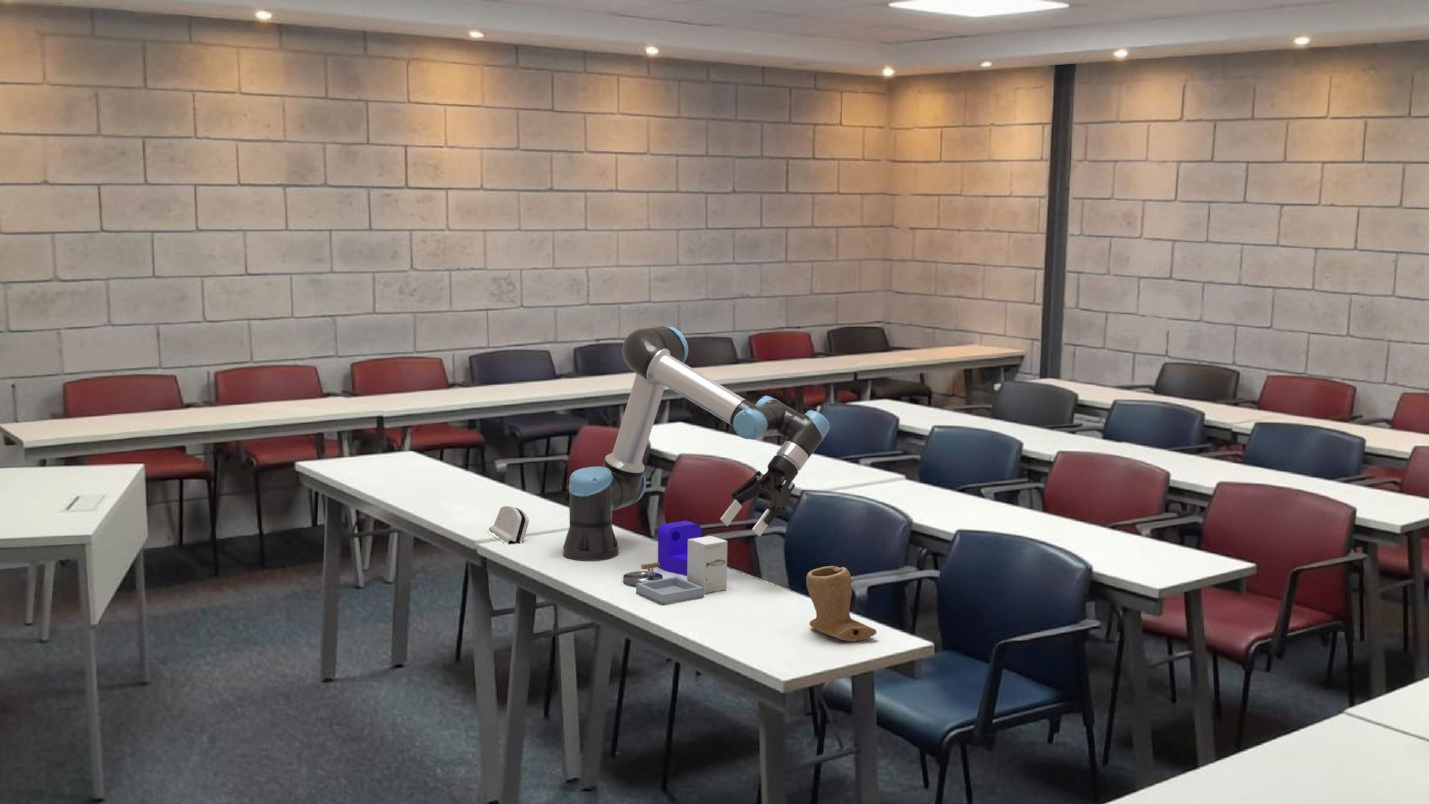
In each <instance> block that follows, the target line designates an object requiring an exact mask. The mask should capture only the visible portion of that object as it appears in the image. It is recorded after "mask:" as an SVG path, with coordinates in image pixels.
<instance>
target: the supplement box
mask: <svg viewBox="0 0 1429 804" xmlns="http://www.w3.org/2000/svg"><path fill="white" fill-rule="evenodd" d="M727 578H728V540H726V539H722V538H719V537H716V536H712V535H709V536H708V535H707V536H702V537H700V538H693V539H688V559H687V576H686V580H687V581H689V582H692V583H694V584H696V585H699V586H701V587H704V595H705V594H708V593H713V591H714V592H720V591H726V590H727V586H728V585H727V583H728V582H727Z"/></svg>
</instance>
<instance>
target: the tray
mask: <svg viewBox="0 0 1429 804" xmlns="http://www.w3.org/2000/svg"><path fill="white" fill-rule="evenodd" d="M635 594H637V595H638V594H639V595H638V596H640V597H643V598H645V597H646V598H645V599H648V600H650V601H652V602H654V603H657V604H659V605H661V606H666V605H671V604H676V603H677V604H678V603H682V602H688V601H693V600H698V599H703V598H702V597H704V598H705V594H704V587H701V586H699V585H696V584H694V583H692V582H689V581H687V579H684V578H681V577H679V576H673V577H667V578H666V577H665V578H663V579H660V580H654V581H648V582H642V583H637V584H636V587H635ZM687 600H688V601H687Z"/></svg>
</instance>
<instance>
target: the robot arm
mask: <svg viewBox="0 0 1429 804" xmlns="http://www.w3.org/2000/svg"><path fill="white" fill-rule="evenodd" d="M685 337H686V336H685V335H684V334H683V333H682V331H681V330H678V329H677V328H675V327H673V326H666V325H660V326H659V325H658V326H656V327H655V326H654V327H648V328H646V327H645V328H638V329H636V330H634V331H632V332H631V333H629V334H628V335H627V336H626V338H625V339H624V342H623V345H622V349H621V350H622V351H621V352H622V353H621V354H622V357H623V360H624V363H625V364H626V366H627V367H628V368H629V369H630V370H631V371H633V373H634V374H635V377H634V380H633V384H632V387H631V390H630V394H629V397H628V401H627V403H626V407H625V411H624V414H623V417H622V420H621V424H620V428H619V430H618V434H617V437H616V441H615V443H614V448H613V450H612V452H610V453H609V454H607V455H605V457H604V461H603V464H602V466H588V467H582V468H580V469H579V468H578V469H576V470H574V471H573V472H572V473H571V474H570V476H569V485H568V491H569V492H568V493H569V495H568V496H569V497H568V498H569V499H568V500H569V502H568V504H569V505H568V506H569V509H568V511H569V527H568V530H567V533H566V537H565V541H564V544H563V547H562V552H563V553H562V555H563V556H564V557H565V558H567V559H572V560H578V561H603V560H608V559H612V558H614V557H615V558H616V557H617V556H618V555H619V544H618V543H619V542H618V541H617V538H616V535H615V532H614V528H613V511H616V510H619V509H622V508H627V507H630V506H632V505H634V504H635V503H637V502H638V501H639V500H640V499H642V497H643V496H644V494H645V492H646V488H647V479H646V477H645V471H646V470H645V469H646V467H645V465H644V463H643V459H644V455H645V451H646V448H647V446H648V442H649V440H650V436H651V432H652V429H653V428H654V427H653V426H654V423H655V420H656V417H657V413H658V411H659V406H660V404H661V400H662V397H663V394H664V391H665V387H666V388H669V390H671V391H673V392H675V393H677V394H678V395H680V396H681V397H683V398H685V399H687V400H688V401H689V402H692V403H693V404H695V405H696V406H699V407H700V408H702V409H704V410H705V411H707V412H709V413H711V414H712V415H713V416H715V417H717V418H718V419H720V420H722V421H723V422H726V423H727V424H729V425H731V426H732V427H733V429H734V431H735V433H736V435H738V436H739V437H740V438H742V439H744V440H753V439H754V440H755V439H759V438H761V437H763V436H766V435H769V434H773V433H775V434H778V435H779V436H781V437H782V438H784V439H785V441H784V443H783V444H782V445H781V446H780V447H779V449H778V450H777V452H776V454H775V455H774V456H773V457H772V458H771V460H770V461H769V462H768V464H767V471H766V473H762V472H761V471H760V470H757V471H756V472H755V473H754V474H753V476H752V477H750V478H749V479H748V480H747V481H746V482H744V483H743V484H742V485H740V486H739V487H738V488H737V489H736V490H734V491H733V492H732V493H730V497H732V499H733V500H732V502H731V503H730V504H729V506H728V507H727V508H726V510H725V512H724V513H723V515H722V516H721V517H720V518H719V520H720V521H721V522H722V523H723V524H724V525H725V526H726V527H728V526H729V525H730V524H731V523H732V521H733V520H734V519H735V517H736V516H737V514H738V513H739V512H740V511H741V509H742V508H743V504H745V503H746V502H747V501H749V500H751V499H754V498H755V497H756V496H758V495H760V494H761V495H762V494H770V501H769V502H770V503H769V505H770V506H769V507H768V508H766V510H765V511H764V512H763V514H762V515H761V516H760V518H759V519H758V521H757V522H756V523H755V525H754V526H753V527H752V529H751V530H752V531H753V532H754V533H755V534H756V535H757V536H758V537H761V536H762V534H763V533H764V532H765V530H766V529H767V527H768V526H769V525H771V523H772V522H773V521H774V519H775V518H776V517H778V516H779V515H781V516H784V515H785V514H786V512H787V508H788V505H789V503H790V499H791V495H792V492H793V490H794V489H795V487H796V484H795V483H794V482H793V481H794V479H796V477H797V476H798V475H799V471H801V470H802V468H803V467H804V466H805V464H806V463H807V461H808V460H809V458H810V457H811V456H812V454H814V452H815V451H816V449H817V448H818V447H819V445H820V444H821V442H823V441H824V438H825V437H826V435H827V434H828V432H829V431H830V428H831V425H830V422H829V420H828V419H827V418H826V417H825V416H824V415H823V414H822V413H820V412H819V411H816V410H815V411H814V410H812V409H810V410H807V412H806V413H804V414H802V413H799V412H798V411H796V410H795V409H794V408H791V407H790V406H787V404H785V403H783V402H781V401H780V400H778V399H776V398H774V397H771V396H770V395H769V396H768V395H764V396H762V397H761V398H760V399H759V400H758V401H757V402H756V403H755V404H753V403H752V402H750V401H748V400H747V399H745V398H743V397H742V396H740V395H738V394H737V393H735V392H733V391H731V390H730V389H728V388H726V387H725V386H723V385H722V384H720V383H718V382H716V381H715V380H713V379H712V378H709V377H708V376H706V375H704V374H703V373H701V372H699V371H697V370H695V368H693V367H691V366H689V365H687V364H686V363H685V362H686V360H687V358H688V354H689V344H688V342H687V339H686V338H685Z"/></svg>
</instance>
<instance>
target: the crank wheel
mask: <svg viewBox="0 0 1429 804" xmlns="http://www.w3.org/2000/svg"><path fill="white" fill-rule="evenodd" d="M658 567H660V563H659V562H658V561H655V562H651V563H643V564H640V569H641V570H642V571H641V570H638V571H630V572H627V573H625V574H623V578H622V581H623V584H624V585H626V586H628V587H633V588H636V584H637V583H642V582H648V581H654V580H660V579H664V575H663V574H662V573H660V572H657V571H654V569H655V568H658Z"/></svg>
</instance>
